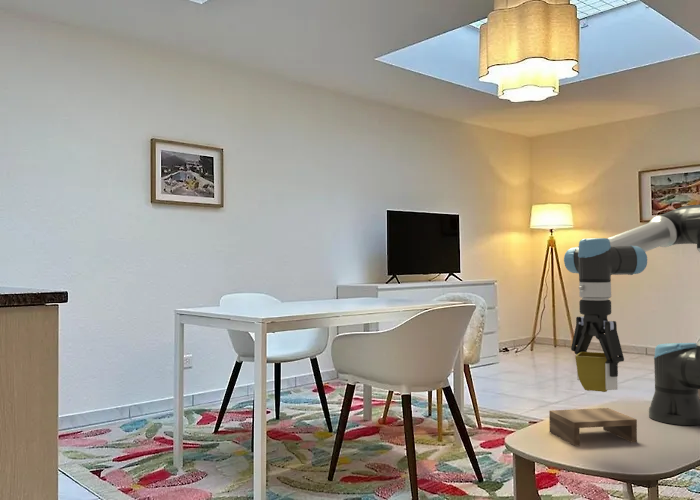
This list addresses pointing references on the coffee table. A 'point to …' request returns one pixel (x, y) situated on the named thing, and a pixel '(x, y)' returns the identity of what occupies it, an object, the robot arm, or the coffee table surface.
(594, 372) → the flower pot
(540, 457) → the coffee table surface
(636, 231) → the robot arm
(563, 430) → the walnut shelf
